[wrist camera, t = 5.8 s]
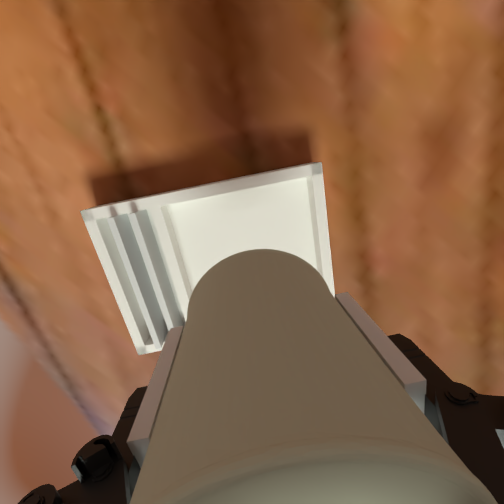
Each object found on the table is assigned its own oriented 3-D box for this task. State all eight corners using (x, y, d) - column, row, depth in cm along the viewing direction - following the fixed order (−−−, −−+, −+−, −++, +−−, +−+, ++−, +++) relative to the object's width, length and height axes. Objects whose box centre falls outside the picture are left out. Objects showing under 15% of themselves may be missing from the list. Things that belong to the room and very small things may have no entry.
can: (158, 327, 17) (-7, 684, 5) (252, 215, 15) (318, 387, 3) (267, 395, 19) (318, 743, 8) (360, 306, 17) (615, 587, 6)
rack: (96, 206, 26) (73, 213, 23) (312, 162, 26) (325, 162, 23) (147, 337, 31) (135, 361, 28) (327, 301, 32) (340, 319, 28)
